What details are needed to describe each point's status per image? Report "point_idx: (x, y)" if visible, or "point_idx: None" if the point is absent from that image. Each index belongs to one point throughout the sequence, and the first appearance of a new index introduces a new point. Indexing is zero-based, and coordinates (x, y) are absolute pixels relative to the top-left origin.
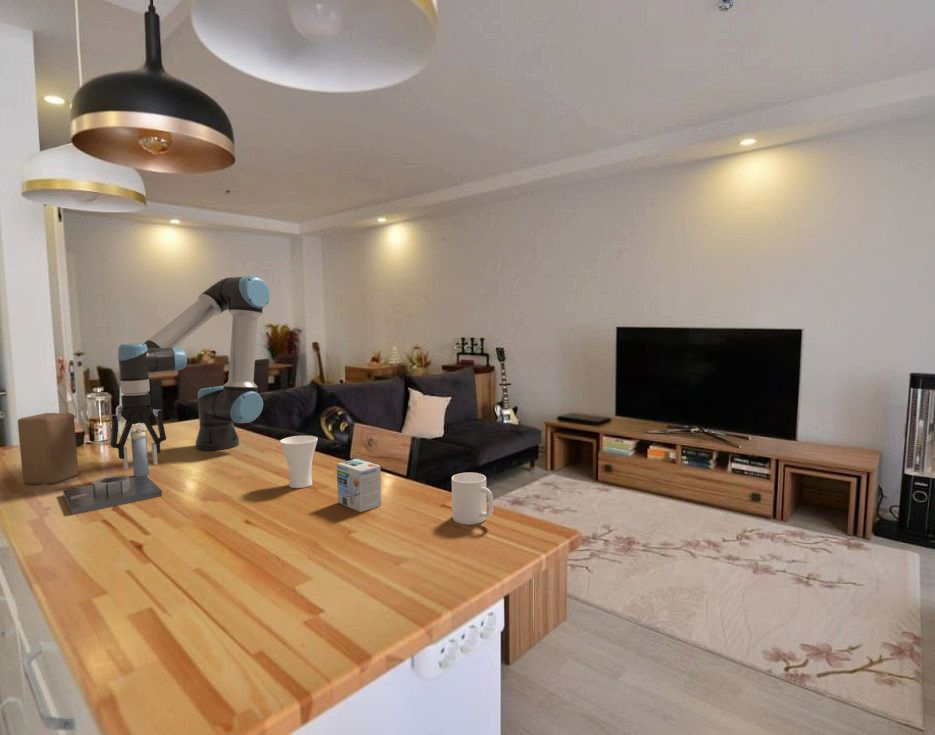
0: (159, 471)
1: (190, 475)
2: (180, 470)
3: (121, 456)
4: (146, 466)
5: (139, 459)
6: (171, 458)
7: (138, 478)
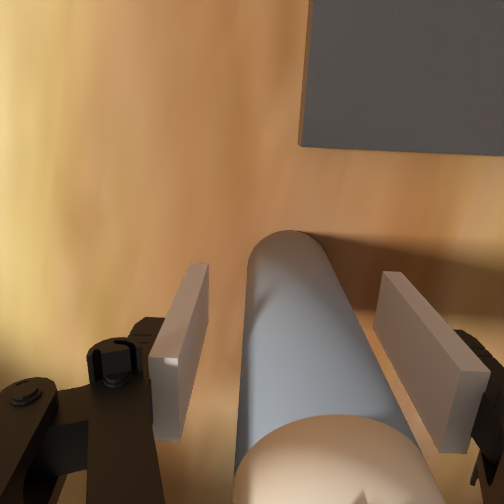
0: None
1: (28, 17)
2: (71, 217)
3: (466, 341)
4: (266, 260)
5: (320, 282)
6: (78, 498)
7: (365, 86)
